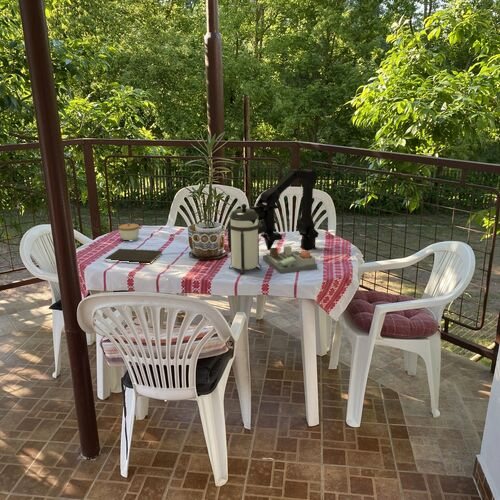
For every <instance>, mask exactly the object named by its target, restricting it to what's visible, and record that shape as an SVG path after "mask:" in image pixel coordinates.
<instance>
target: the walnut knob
mask: <svg viewBox="0 0 500 500" xmlns="http://www.w3.org/2000/svg"><path fill="white" fill-rule="evenodd" d="M269 254H270V256H271V257H272V258H275V257H278V254H279V248H277V247H271V248H270V250H269Z"/></svg>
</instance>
